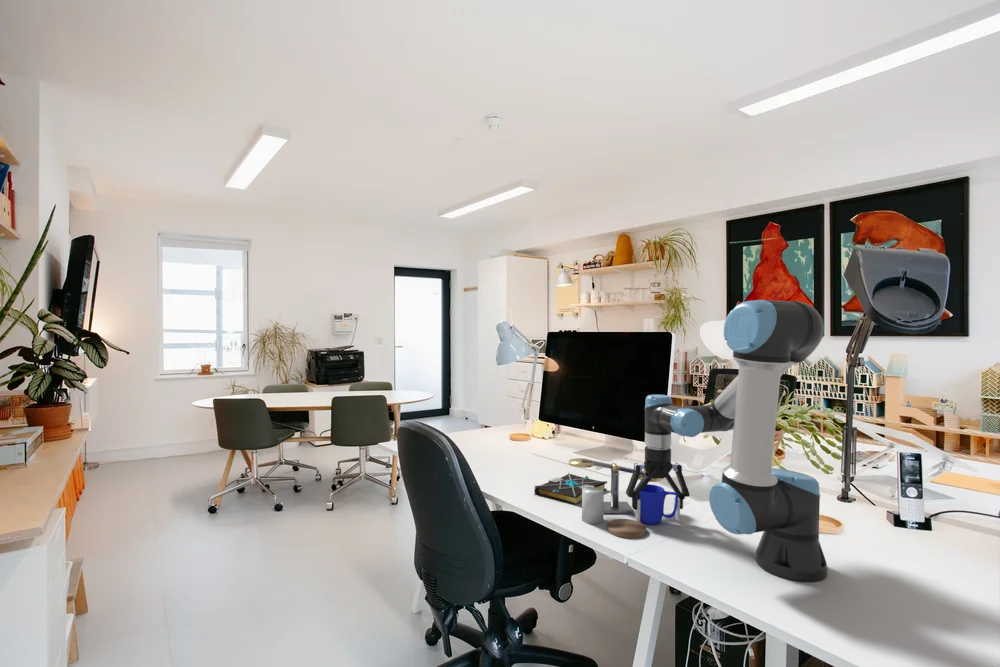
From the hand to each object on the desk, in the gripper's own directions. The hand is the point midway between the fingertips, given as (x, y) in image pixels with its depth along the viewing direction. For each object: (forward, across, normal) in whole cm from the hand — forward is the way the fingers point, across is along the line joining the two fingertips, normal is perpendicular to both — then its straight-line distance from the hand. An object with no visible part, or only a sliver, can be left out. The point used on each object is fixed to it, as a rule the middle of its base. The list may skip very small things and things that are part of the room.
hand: (657, 519), depth 154 cm
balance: (+1, +10, -11) cm, 15 cm away
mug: (+1, 0, 0) cm, 1 cm away
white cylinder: (+1, +19, -2) cm, 19 cm away
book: (+1, +21, -28) cm, 35 cm away
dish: (+1, +11, +6) cm, 13 cm away
